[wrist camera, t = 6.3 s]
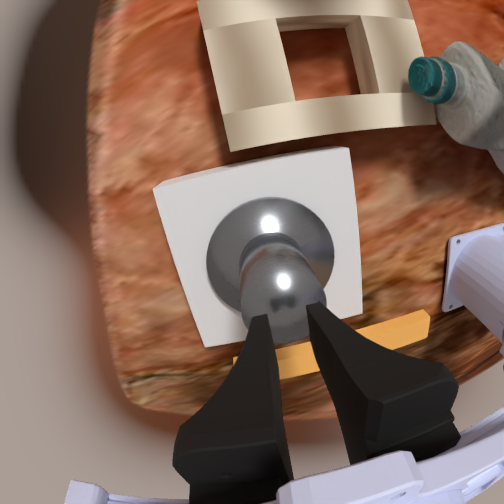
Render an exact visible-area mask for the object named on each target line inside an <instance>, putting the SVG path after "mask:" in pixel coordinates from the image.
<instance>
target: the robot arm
mask: <svg viewBox="0 0 504 504" xmlns="http://www.w3.org/2000/svg"><path fill="white" fill-rule="evenodd" d="M457 240H458V242H457ZM456 242H457V243H456ZM463 305H464V306H465V307H466V308H467V309H468V310H469V311H470V312H471V313H472V314H474V315H475V316H476V317H477V318H478V319H479V320H480V321H481V322H482V323H483V324H484V325H485V326H486V327H487V328H488V329H489V330H490V331H491V332H492V333H493V334H494V335H495V336H496V337H497V338H498V339H499V340H500V341H501V343H502V344H503V345H502V347H501V349H500V352H501V354H502V355H503V356H504V223H500V224H497V225H493V226H490V227H486V228H483V229H479V230H476V231H472V232H468V233H465V234H461V235H457V236H454V237H451V238H450V240H449V242H448V257H447V269H446V279H445V288H444V296H443V303H442V310H443V311H444V312H448V311H450V310H453V309H455V308H458V307H460V306H463ZM306 311H307V318H308V326H309V334H310V342H311V345H312V349H313V352H314V356H315V359H316V362H317V365H318V367H319V369H320V372H321V374H322V376H323V379H324V381H325V384H326V386H327V388H328V391H329V393H330V395H331V398H332V400H333V403H334V406H335V409H336V412H337V416H338V419H339V423H340V426H341V430H342V433H343V437H344V441H345V445H346V449H347V453H348V457H349V461H350V465H349V466H345V467H342V468H338V469H334V470H330V471H326V472H322V473H318V474H313V475H309V476H306V477H302V478H299V479H295V480H294V477H293V472H292V466H291V461H290V456H289V450H288V445H287V439H286V434H285V428H284V422H283V415H282V404H281V389H280V376H279V367H278V361H277V356H276V351H275V346H274V342H273V337H272V333H271V328H270V324H269V319H268V315H267V314H263V315H258V316H253V317H252V318H251V321H250V326H249V330H248V333H247V336H246V339H245V341H244V344H243V347H242V349H241V351H240V353H239V356H238V358H237V360H236V362H235V364H234V366H233V367H232V369H231V371H230V372H229V374H228V376H227V377H226V379H225V380H224V382H223V383H222V384H221V386H220V387H219V389H218V390H217V391H216V392H215V394H214V395H213V396H212V397H211V398H210V399H209V400H208V401H207V403H206V404H205V405H204V406H203V407H202V408H201V409H200V410H199V411H198V412H197V413H196V414H194V415H193V416H192V417H191V418H190V419H188V420H187V421H186V422H185V423H184V424H182V425H181V426H180V427H179V430H178V434H177V437H176V440H175V445H174V452H173V467H174V468H175V470H176V471H177V472H178V473H179V474H180V475H181V476H182V477H183V478H184V479H185V480H186V481H187V482H188V483H189V484H190V495H189V500H187V499H158V498H143V497H132V496H124V495H116V494H109V493H108V492H107V491H106V490H105V489H103V488H102V487H100V486H98V485H96V484H92V483H88V482H82V481H77V480H71V482H70V485H69V488H68V492H67V495H66V499H65V502H64V504H466V502H467V501H469V500H470V499H472V498H473V497H475V496H476V495H478V494H480V493H481V492H483V491H484V490H485V489H487V488H488V487H490V486H491V485H493V484H494V483H495V482H497V481H498V480H499V479H501V478H502V477H503V476H504V407H502V408H501V409H499V410H497V411H496V412H494V413H493V414H491V415H490V416H488V417H486V418H485V419H483V420H481V421H480V422H478V423H476V424H475V425H473V426H471V427H470V428H467V429H466V430H464V431H462V432H460V433H459V432H458V430H457V428H456V427H455V425H454V424H453V421H454V416H453V414H452V412H451V411H450V410H451V408H452V406H453V403H454V401H455V398H456V396H457V392H458V388H459V386H458V382H457V381H456V379H455V378H454V376H453V375H452V374H451V372H450V371H449V370H448V369H447V368H446V367H445V366H444V364H443V363H439V362H433V361H428V360H422V359H418V358H414V357H411V356H407V355H404V354H401V353H398V352H396V351H393V350H391V349H388V348H386V347H383V346H381V345H379V344H377V343H375V342H373V341H371V340H369V339H368V338H366V337H364V336H363V335H361V334H360V333H358V332H357V331H355V330H354V329H352V328H351V327H350V326H348V325H347V324H346V323H344V322H343V321H342V320H340V319H339V318H338V317H337V316H336V315H334V314H333V313H332V312H331V311H330V310H329V309H328V308H327V307H326V306H324V305H323V304H322V303H321V302H317V303H313V304H309V305H306ZM503 369H504V366H503Z"/></svg>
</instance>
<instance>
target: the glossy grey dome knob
mask: <svg viewBox="0 0 504 504" xmlns="http://www.w3.org/2000/svg"><path fill="white" fill-rule="evenodd" d="M334 258H335V255H334V245H333V241H332V238H331V235H330V233H329V231H328V229H327V227H326V226H325V224H324V223H323V221H322V220H321V219H320V218H319V217H318V216H317V215H316V214H315V213H314V212H313V211H312V210H310V209H309V208H308V207H306V206H305V205H303V204H301V203H299V202H296V201H294V200H291V199H287V198H281V197H264V198H257V199H254V200H250V201H248V202H245V203H243V204H241V205H239V206H238V207H236V208H234V209H233V210H232V211H230V212H229V213H228V214H227V215H226V216H225V217H224V218H223V219H222V220H221V221H220V222H219V224H218V225H217V226H216V228H215V230H214V232H213V233H212V236H211V238H210V241H209V245H208V249H207V255H206V267H207V273H208V277H209V280H210V282H211V285H212V287H213V288H214V290H215V292H216V293H217V294H218V296H219V297H220V298H221V299H222V300H223V301H224V302H225V303H226V304H228V305H229V306H230V307H232V308H234V309H235V310H237V311H239V312H241V314H242V319H243V322H244V324H245V326H246V328H247V329H248V330H249V326H250V321H251V318H252V317H253V316H258V315H263V314H267V315H268V319H269V324H270V328H271V333H272V337H273V342H274V343H275V344H284V343H291V342H294V341H297V340H300V339H302V338H304V337H306V336H307V335H309V326H308V318H307V311H306V305H309V304H313V303H317V302H321V303H322V304H323V305H324V306H326V307H327V300H326V295H325V292H324V290H323V289H324V288H325V286H326V284H327V283H328V281H329V279H330V276H331V274H332V270H333V266H334Z"/></svg>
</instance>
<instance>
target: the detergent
mask: <svg viewBox="0 0 504 504" xmlns="http://www.w3.org/2000/svg"><path fill="white" fill-rule="evenodd" d="M408 81H409V84H410V87H411V89H412V90H413V91H414V92H416V93H417V94H419V95H421V96H422V97H423V99H425V100H426V101H428V103H433V104H434V110H435V115H436V117H437V118H438V120H439V122H440V123H441V125H442V127H443V128H444V130H445V131H446V132H447V133H448V135H449V136H450V137H451V138H453V139H454V140H455V141H456V142H458V143H459V144H462V145H465V146H469V147H473V148H478V149H486V150H488V151H489V153H490V154H491V156H492V158H493V160H494V162H495V164H496V165H497V167H498V168H499V170H500V171H501V172H502V173H503V174H504V58H503V59H502V60H501V61H500V63H499V65H498V66H497V65H496V64H495V63H493V62H492V61H491V60H490V59H489V58H487V57H486V56H485V55H483V54H482V53H481V52H479V51H478V50H476V49H475V48H473V47H472V46H470V45H469V44H466V43H464V42H460V41H458V42H454V43H452V44H450V45H449V46H448V47H447V48H446V50H445V51H444V52H443V53H442V54H441V56H440V57H430V58H426V57H422V56H421V57H418V58H415V59H414V60H413V61H412V63H411V65H410V67H409V70H408Z"/></svg>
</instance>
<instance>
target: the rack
mask: <svg viewBox="0 0 504 504" xmlns="http://www.w3.org/2000/svg"><path fill="white" fill-rule="evenodd" d="M197 5H198V10H199V14H200V19H201V23H202V27H203V32H204V36H205V41H206V45H207V50H208V54H209V59H210V63H211V68H212V72H213V76H214V81H215V85H216V90H217V94H218V99H219V103H220V108H221V112H222V117H223V121H224V125H225V130H226V134H227V139H228V143H229V148H230V152H233V151H237V150H242V149H247V148H252V147H257V146H262V145H267V144H272V143H277V142H283V141H289V140H295V139H301V138H307V137H313V136H320V135H327V134H334V133H342V132H350V131H359V130H368V129H378V128H389V127H402V126H418V125H436V117H435V110H434V104H433V103H428V101H426V100H425V99H423V97H422V96H421V95H419V94H417V93H416V92H414V91H413V90H412V89H411V87H410V84H409V81H408V70H409V67H410V65H411V63H412V61H413V60H414V59H415V58H418V57H421V56H422V57H424V54H423V50H422V46H421V43H420V39H419V35H418V32H417V28H416V25H415V22H414V18H413V15H412V12H411V9H410V6H409V3H408V0H200V1H197ZM323 28H345V30H346V34H347V38H348V41H349V45H350V49H351V53H352V57H353V61H354V65H355V70H356V74H357V79H358V84H359V88H360V93H361V94H359V95H346V96H335V97H325V98H316V99H308V100H301V101H295V97H294V93H293V88H292V83H291V79H290V75H289V70H288V66H287V62H286V58H285V54H284V49H283V45H282V41H281V38H280V34H279V32H283V31H293V30H305V29H323Z"/></svg>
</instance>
